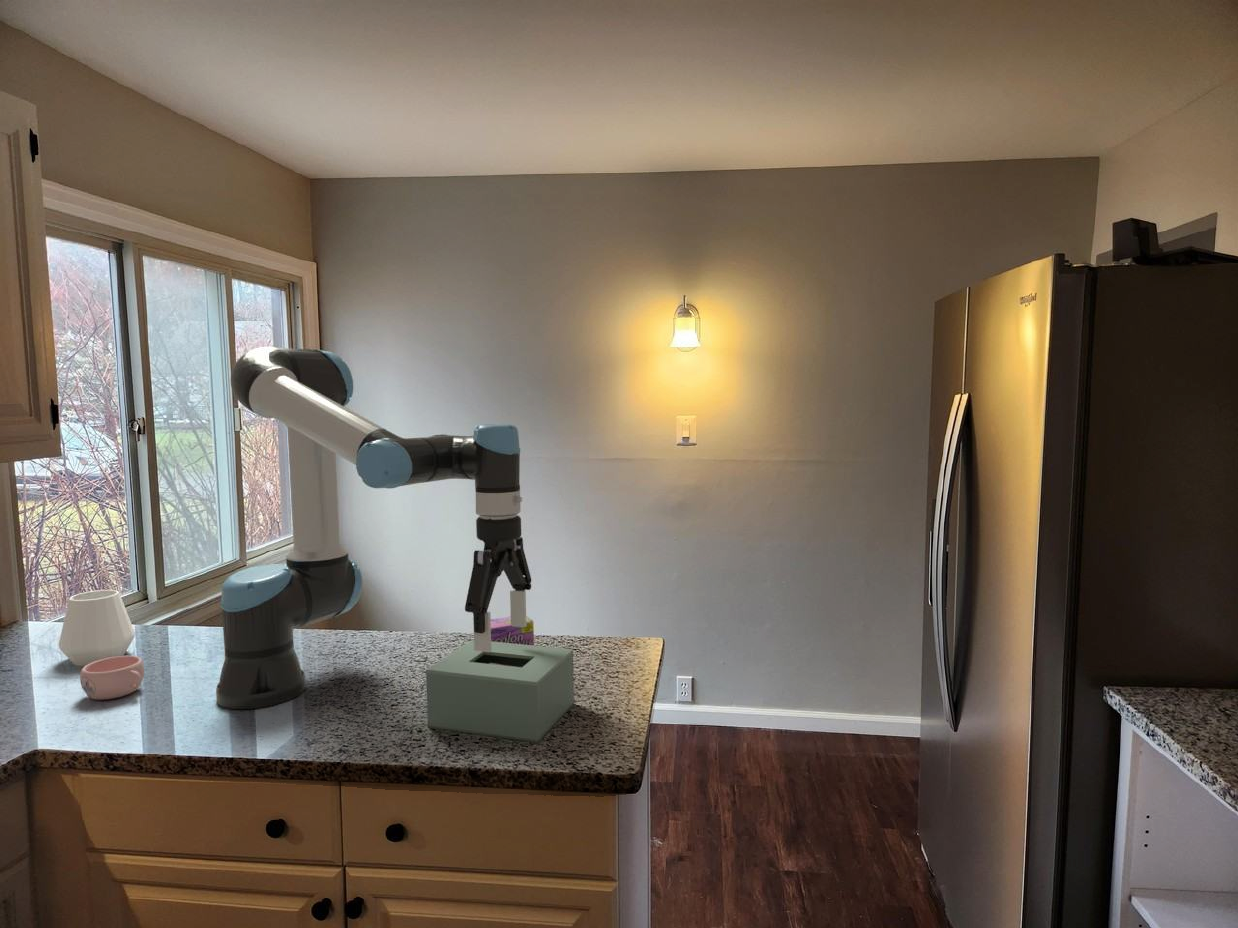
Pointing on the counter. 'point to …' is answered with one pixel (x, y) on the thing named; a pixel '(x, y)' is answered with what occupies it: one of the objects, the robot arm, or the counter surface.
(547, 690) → the box
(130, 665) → the mug
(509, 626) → the box
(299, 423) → the robot arm
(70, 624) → the white faceted vase
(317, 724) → the counter surface
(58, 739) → the counter surface
